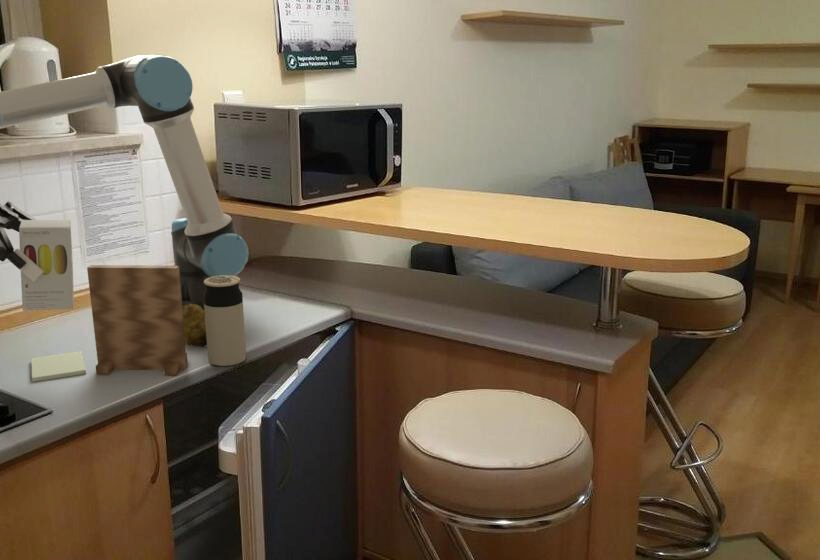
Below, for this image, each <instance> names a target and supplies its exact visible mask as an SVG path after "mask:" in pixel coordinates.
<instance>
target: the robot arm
mask: <svg viewBox="0 0 820 560" xmlns="http://www.w3.org/2000/svg"><path fill="white" fill-rule="evenodd" d="M193 89H194V87H193V79H192V76H191V74H190V72H189V70H188V69H187V68H186V67H185V65H184V64H183V63H181V62H180V61H179V60H177V59H175V58H174V57H171V56H169V55H165V54H149V55H144V54H142V55H141V54H140V55H135V56H132V57H129V58H126V59H122V60H120V61H118V62H117V61H116V62H114V63H110V64H107V65H101V66H98V67H97V68H96V69H95V71H94V72H90V73H86V74H81V75H75V76H72V77H71V76H70V77H67V78H61V79H56V80H51V81H46V82H41V83H38V84H37V83H36V84H33V85H28V86H22V87H18V88H12V89H8V90H3V91H2V90H1V91H0V130H1V129H6V128H10V127H15V126H21V125H23V124H27V123H28V124H29V123H33V122H37V121H42V120H46V119H50V118H54V117H55V118H56V117H60V116H63V115H68V114H73V113H77V112H81V111H87V110H91V109H96V108H99V107H107V108H109V109H115V108H120V107H138V110H139V112H140V115H141V118H142V121H143V124H145V125H147V126H149V127H151V128H152V129H153V130H154V133H155V136H156V140H157V142H158V145H159V147H160V150H161V153H162V156H163V158H164V161H165V164H166V167H167V170H168V172H169V174H170V175H169V176H170V177H171V181H172V183H173V186H174V188H175V191H176V194H177V196H178V200H179V202H180V205H181V207H182V211H183V214H184V215H185V217H184V218H183V217H182V218H178V219H175V220H173V221H172V223H171V232H170V234H171V241H172V250H173V263H174V265H173V266H179V272H180V285H181V297H182V306H184V305H186V304H196V305H199V306H201V307H202V309H203V310H204V294H205V292H206V285H205V284H204V280H205V279H207V278H209V277H213V276H220V275H231V276H236V277H237V275H238V274H240V272H242V271H243V270H244V268H245V266H246V265H247V263H248V260H249V247H248V244H247V243H246V241H245V240H244V238H243V237H242V236H240V235H239V234H237V231H236V227H235V224H234V222H233V218H232V217H231V216H230V215H229V214H227V213H224V212H223V210H222V207H221V203H220V200H219V197H218V195H217V194H218V193H217V192H216V189H215V186H214V184H213V183H214V182H213V180H212V177H211V174H210V171H209V168H208V166H207V163H206V160H205V157H204V154H203V151H202V148H201V145H200V142H199V139H198V137H197V133H196V130H195V128H194V124H193V122H192V118H191V117H192V115H193V112H194V111H195V107H194V104H193V101H192V97H191V96H192V94H193ZM22 220H37V219H36V218H34V217H33V216H31V215H30V214H29V213H26V212H25V211H23V210H22V209H20V208H19V207H17V206H16V205H15V204H14V203H12V201H9V200H8V201H6V202H5V203H4V204H2V203H0V261H1V262H5V261H6V260H8V261H9V262H11V264H12V265H14V267H16V268H17V269H18V270H19V271H20V272H21V271H22V272H23V273H24V274H25V275H26V276H27V277H29V278H30V279H31V280H32V281H33V282H35V281H36V280H37V279H38V278H39V277H40V276H41V275H42V274H43V273H44V271H43V270H42V269H41V268H39V267H38V266H37V265H36V264H35V263H34V262H33V261H31V260H30V259H29V258H28V257H27V256H26V255H25V254H24V253H22V252H21V251H20V248H16V249H15V248H14V246H13V244H12V242H11V240H10V238H9V236H8V234H7V232H6V230H13V231H16V232H17V233H19V227H20V224H21V221H22ZM5 229H6V230H5ZM204 311H205V310H204Z"/></svg>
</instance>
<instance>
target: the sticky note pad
mask: <svg viewBox="0 0 820 560" xmlns="http://www.w3.org/2000/svg"><path fill="white" fill-rule="evenodd" d="M30 362H31V381H32V382H33V383H34V382H38V381H45V380H52V379H58V378H64V377H71V376H80V375H84V374H87V369H86V365H85V360H84V357H83V351H82V350H80V351H73V352H66V353H65V352H63V353H59V354H52V355H50V354H49V355H43V356H37V357H31V361H30Z"/></svg>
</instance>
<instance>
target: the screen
mask: <svg viewBox="0 0 820 560" xmlns="http://www.w3.org/2000/svg"><path fill="white" fill-rule="evenodd" d="M86 270H87V279H88V286H89V287H88V289H89V294H90V295H89V296H90V297H89V298H90V303H91V304H90V305H91V307H90V308H91V313H92V314H91V315H92V324H93V331H94V341H95V347H96V348H95V349H96V359H97V364H96V365H95V373H96V376H109V375H110V374H112V372H113V371H118V370H119V371H122V370H123V371H163V376H164V377H177V376H178V374H179V373H180V372H181V371H186V369H187V368H188V353H187V350H186V348H187V347H186V343H185V334H184V322H183V309H182V297H181V285H180V272H179V266H175V265H148V264H146V265H139V264H138V265H135V264H134V265H133V264H132V265H131V264H130V265H129V264H128V265H127V264H126V265H125V264H123V265H122V264H118V265H117V264H114V265H113V264H111V265H110V264H91V265H89V266H88V267H86Z"/></svg>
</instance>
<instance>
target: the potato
mask: <svg viewBox="0 0 820 560" xmlns="http://www.w3.org/2000/svg"><path fill="white" fill-rule="evenodd" d="M182 309H183V322H184V334H185V344H187V345H189V346H192V347H200V348H201V347H207V337H206V324H205V310H203V309H202V307H201V306H199V305H196V304H186V305H184V306H182Z"/></svg>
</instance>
